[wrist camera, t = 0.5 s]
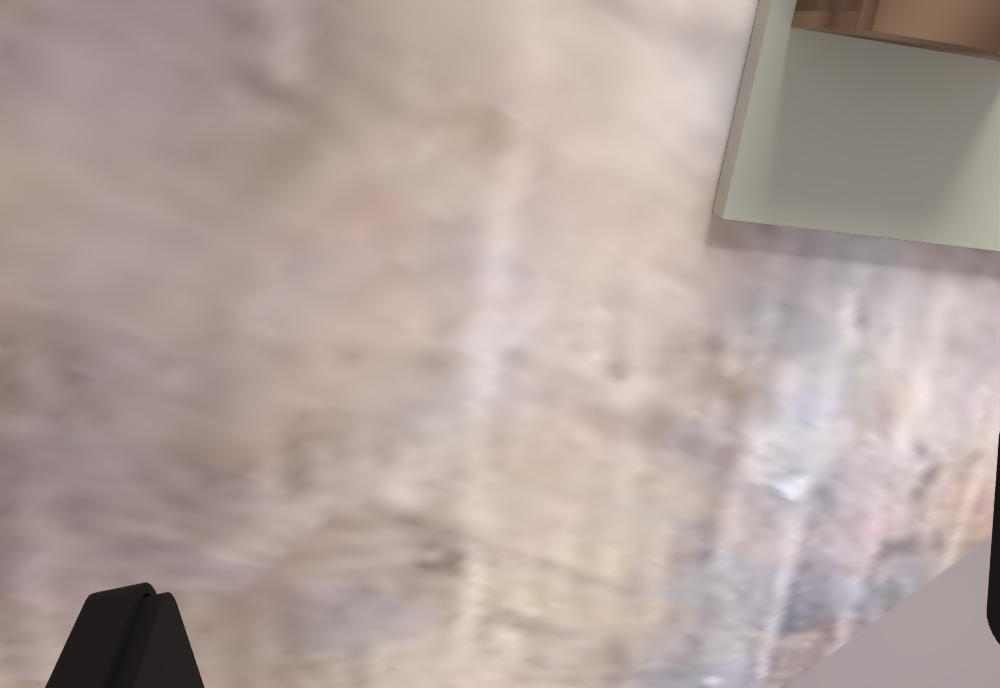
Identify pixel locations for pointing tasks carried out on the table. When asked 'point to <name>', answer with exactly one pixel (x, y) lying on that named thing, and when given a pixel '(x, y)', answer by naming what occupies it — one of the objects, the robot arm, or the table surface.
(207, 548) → the table surface
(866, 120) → the sage board
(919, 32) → the walnut cover
